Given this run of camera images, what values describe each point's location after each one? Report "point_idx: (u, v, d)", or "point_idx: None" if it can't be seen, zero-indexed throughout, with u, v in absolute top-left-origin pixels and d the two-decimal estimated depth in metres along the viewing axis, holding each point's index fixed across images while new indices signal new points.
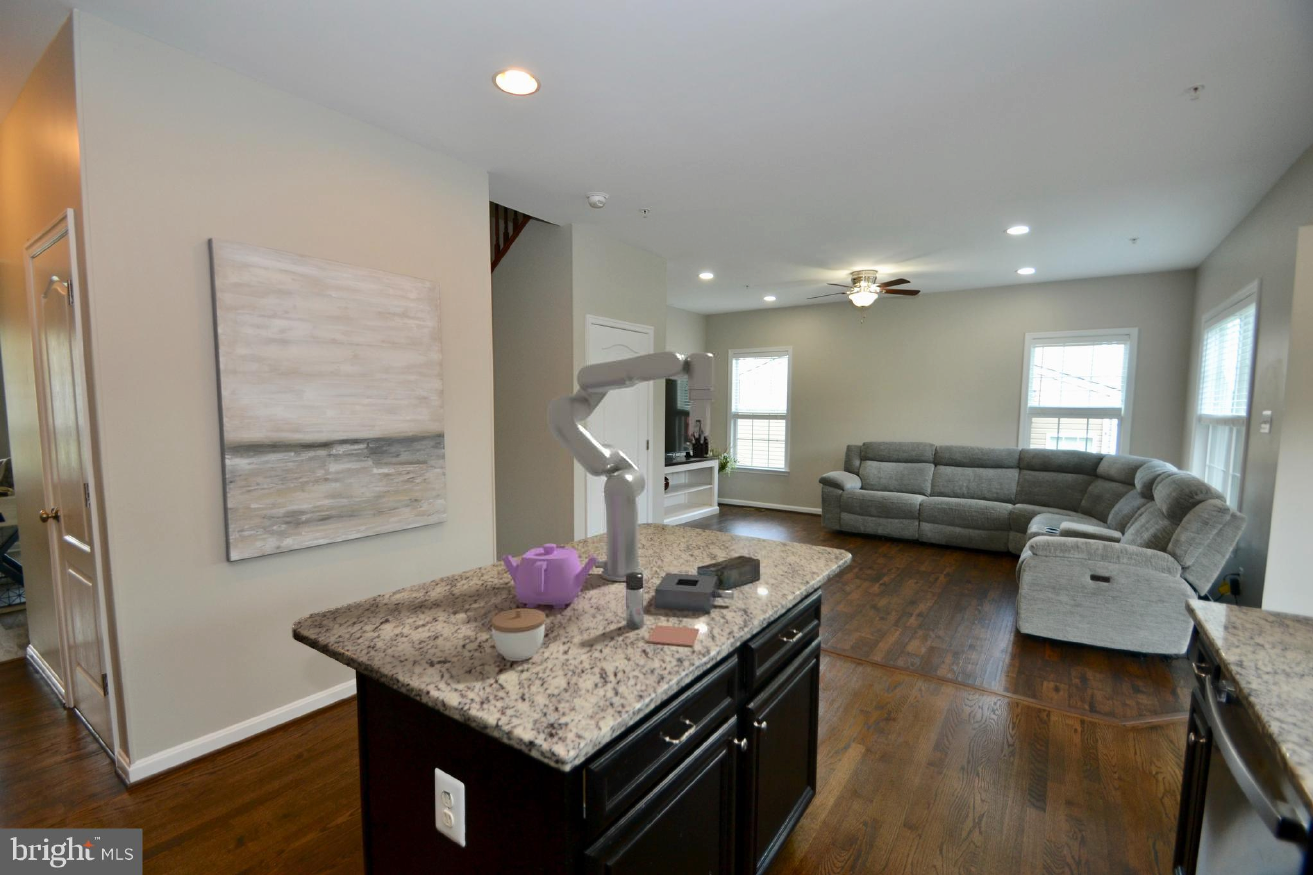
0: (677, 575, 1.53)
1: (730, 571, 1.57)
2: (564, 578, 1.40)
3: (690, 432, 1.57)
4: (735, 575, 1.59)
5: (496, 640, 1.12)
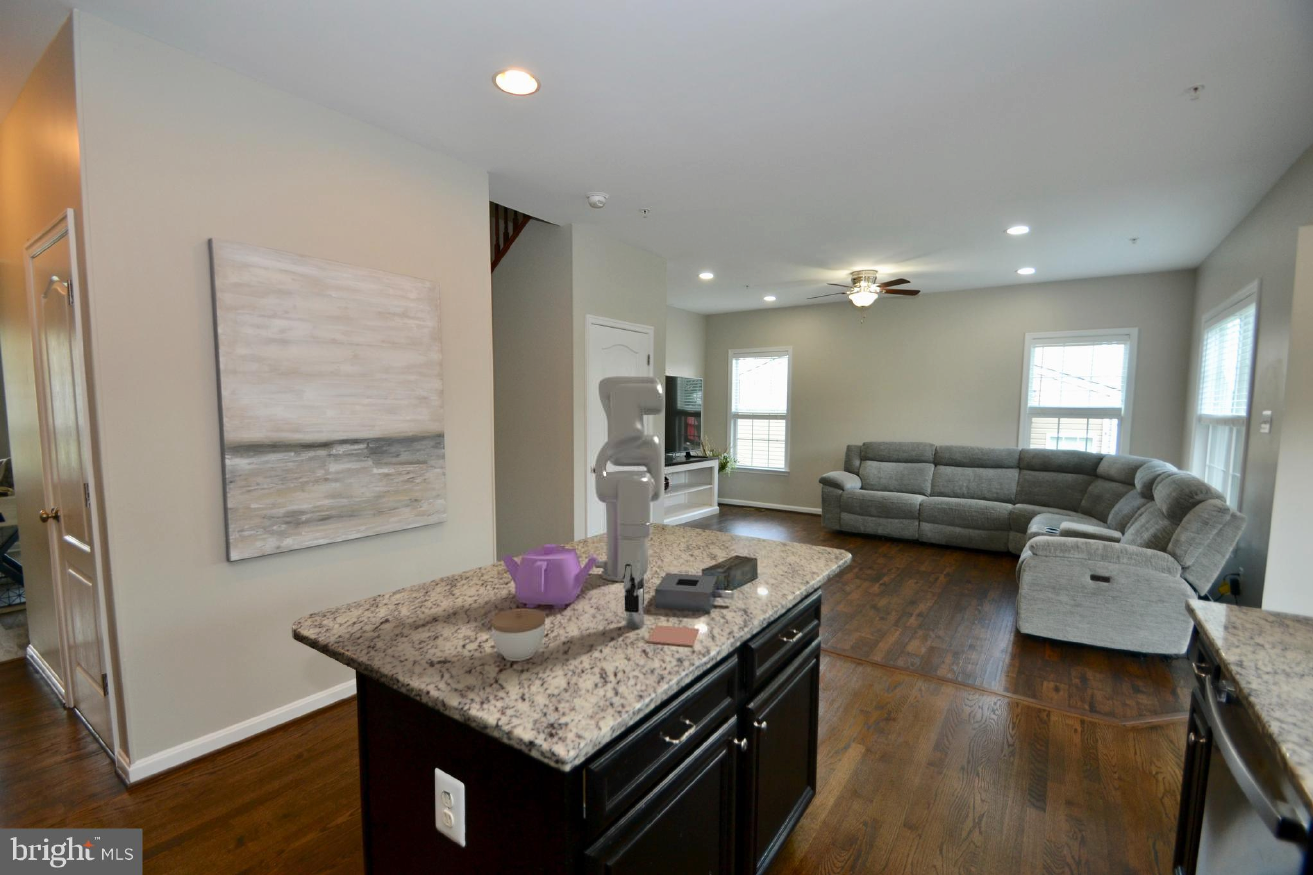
0: (677, 575, 1.53)
1: (735, 571, 1.57)
2: (564, 578, 1.40)
3: (619, 578, 1.26)
4: (739, 575, 1.58)
5: (496, 640, 1.12)
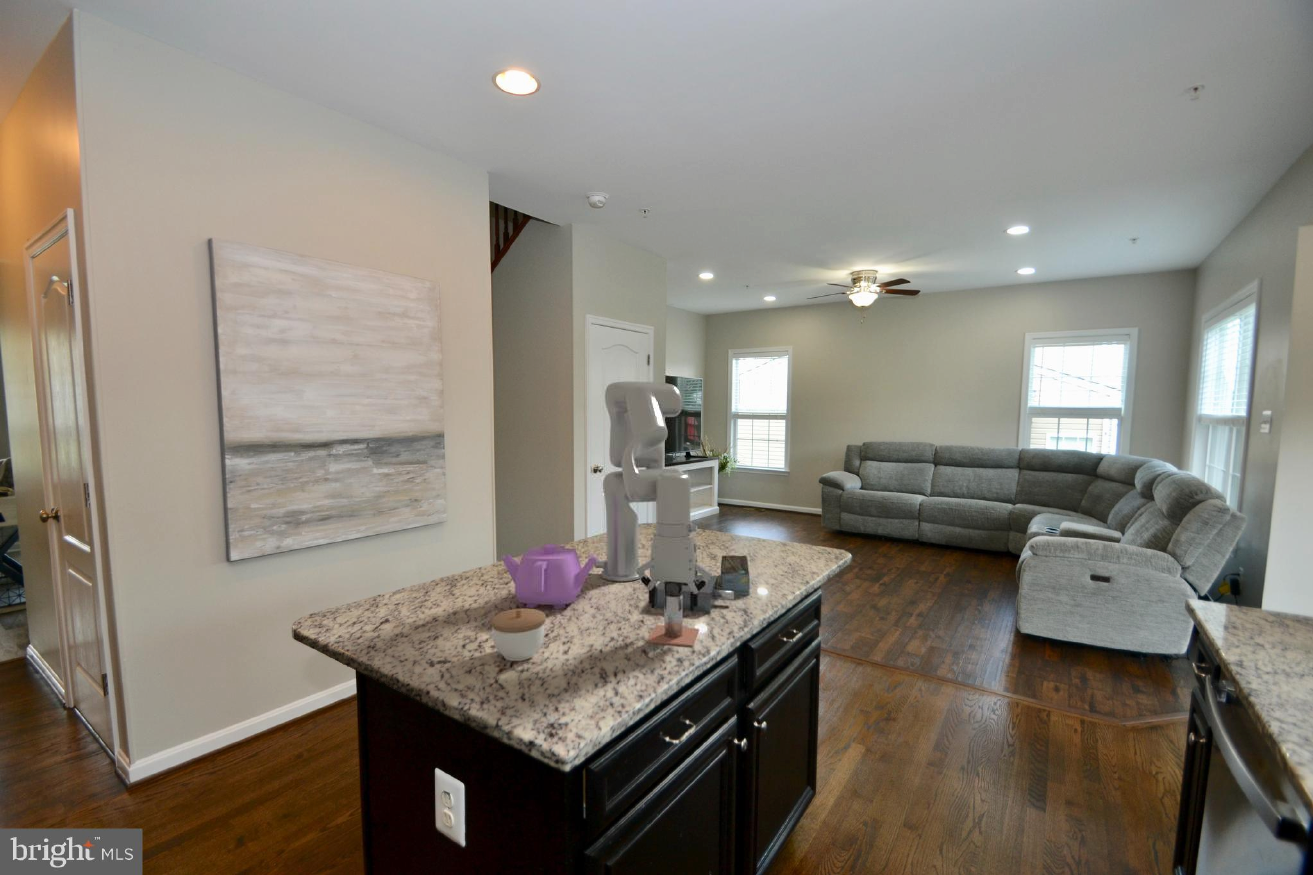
0: None
1: None
2: (564, 578, 1.40)
3: None
4: None
5: (496, 640, 1.12)
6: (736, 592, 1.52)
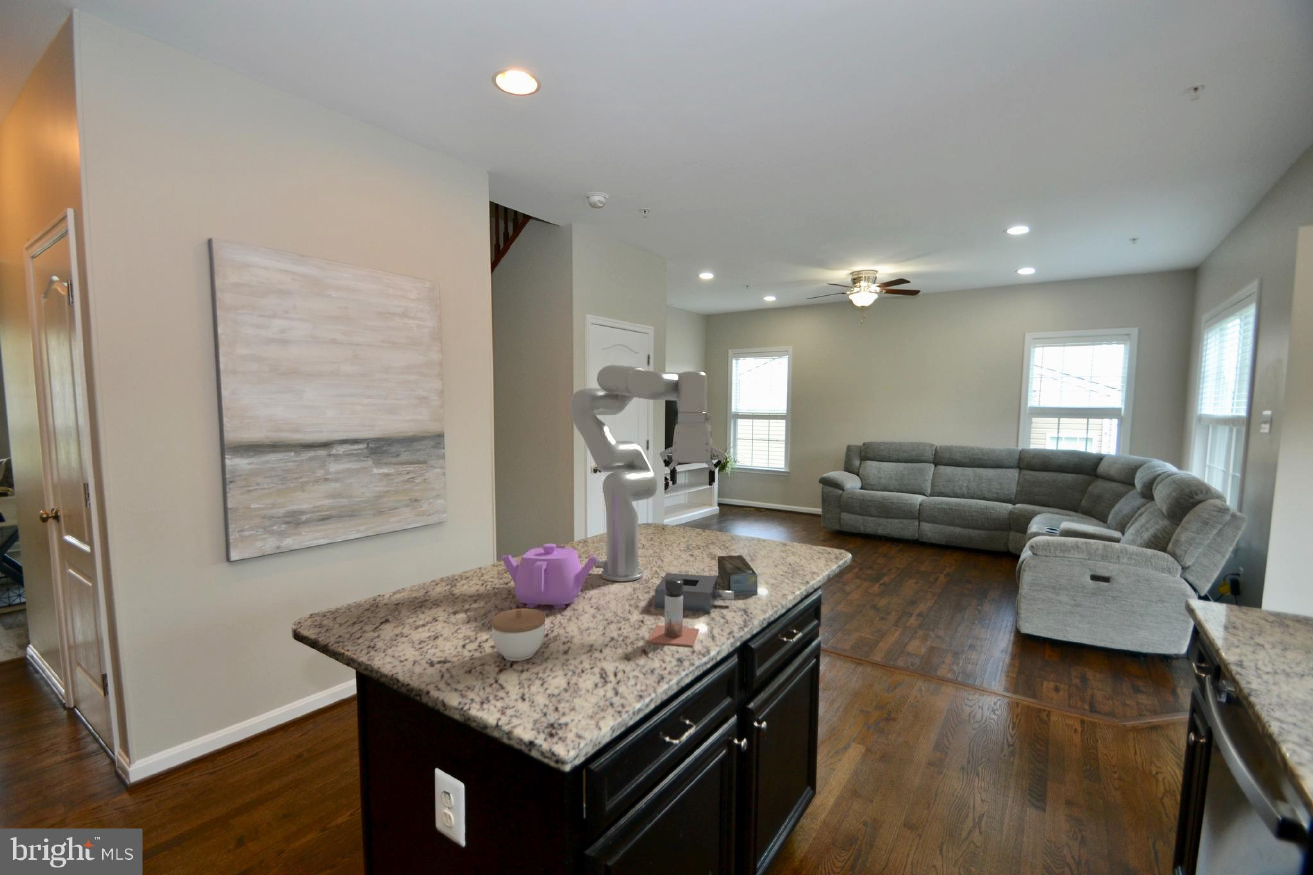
0: (677, 575, 1.53)
1: None
2: (564, 578, 1.40)
3: None
4: None
5: (496, 640, 1.12)
6: (744, 592, 1.52)
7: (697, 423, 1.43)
